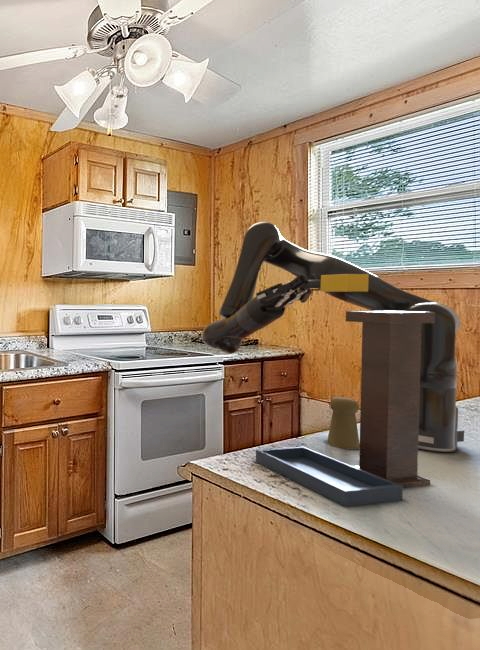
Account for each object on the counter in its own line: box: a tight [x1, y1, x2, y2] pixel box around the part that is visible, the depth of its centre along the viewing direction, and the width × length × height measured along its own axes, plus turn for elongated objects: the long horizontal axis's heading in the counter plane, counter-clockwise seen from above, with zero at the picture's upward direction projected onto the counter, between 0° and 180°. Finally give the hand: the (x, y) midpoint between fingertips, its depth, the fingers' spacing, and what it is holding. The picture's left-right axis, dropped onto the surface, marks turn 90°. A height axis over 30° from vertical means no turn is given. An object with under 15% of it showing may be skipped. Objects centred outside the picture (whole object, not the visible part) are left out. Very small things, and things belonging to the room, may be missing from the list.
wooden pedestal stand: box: [345, 310, 435, 489], centre depth 81 cm, size 10×8×32 cm
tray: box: [255, 445, 404, 507], centre depth 81 cm, size 12×20×2 cm, turn 10°
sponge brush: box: [298, 274, 369, 293], centre depth 94 cm, size 5×16×4 cm, turn 10°
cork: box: [326, 396, 360, 450], centre depth 100 cm, size 6×6×11 cm
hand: (310, 277), depth 97 cm, fingers closed on sponge brush, 2 cm apart
